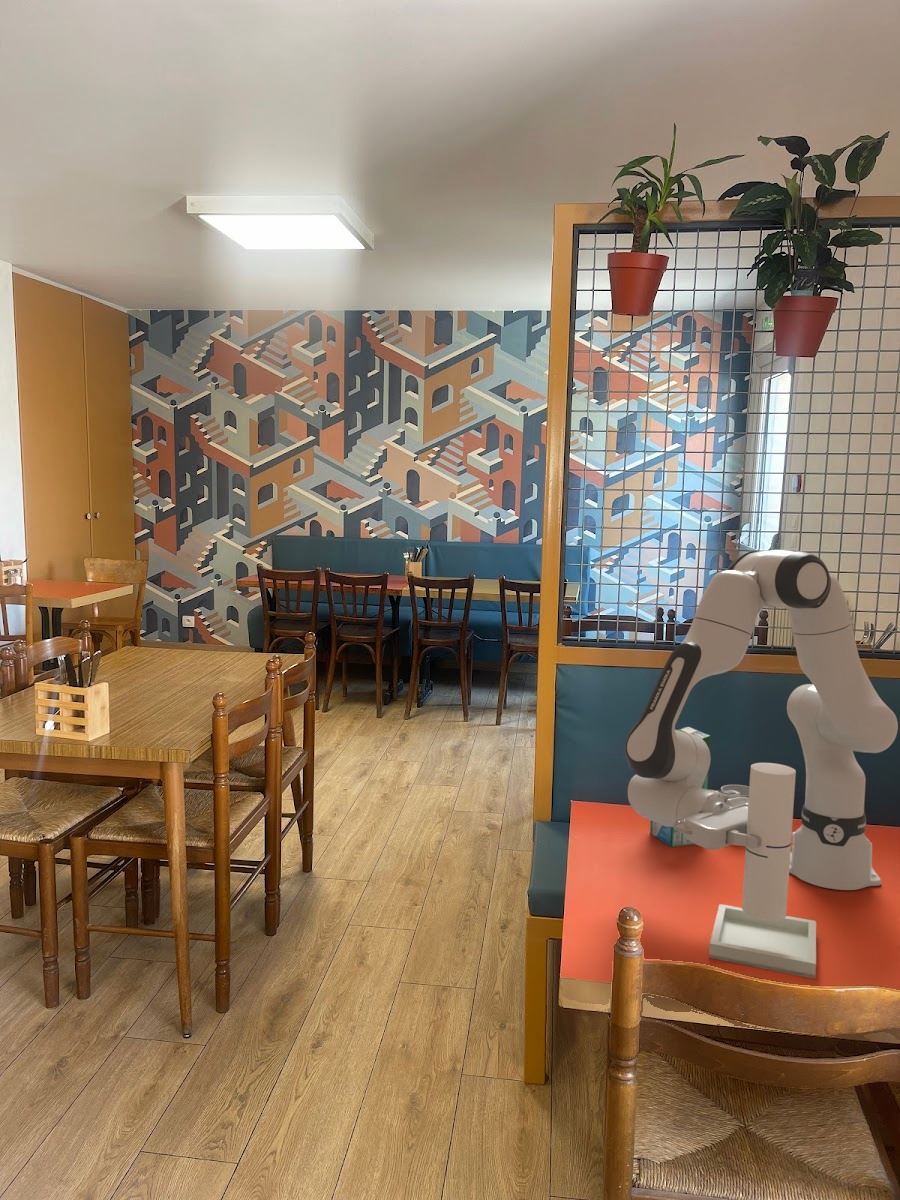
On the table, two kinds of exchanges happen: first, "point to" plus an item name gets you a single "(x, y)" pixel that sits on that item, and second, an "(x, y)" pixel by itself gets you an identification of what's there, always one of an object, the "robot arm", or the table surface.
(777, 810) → the cylindrical container
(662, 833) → the milk carton
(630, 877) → the table surface
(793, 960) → the tray
